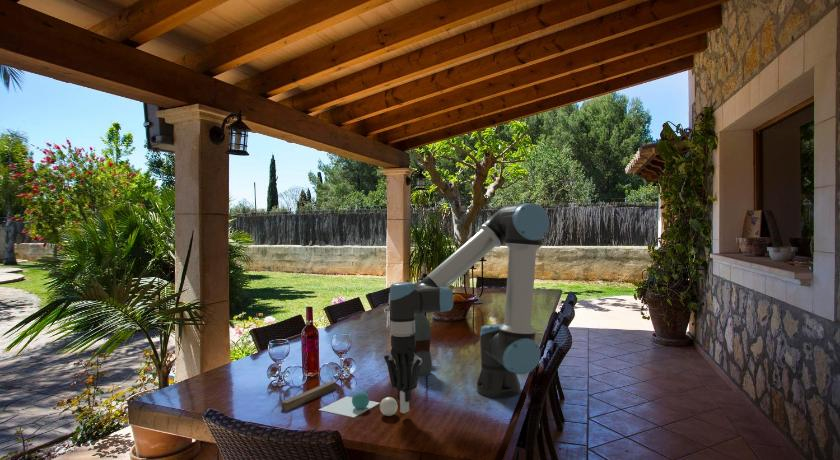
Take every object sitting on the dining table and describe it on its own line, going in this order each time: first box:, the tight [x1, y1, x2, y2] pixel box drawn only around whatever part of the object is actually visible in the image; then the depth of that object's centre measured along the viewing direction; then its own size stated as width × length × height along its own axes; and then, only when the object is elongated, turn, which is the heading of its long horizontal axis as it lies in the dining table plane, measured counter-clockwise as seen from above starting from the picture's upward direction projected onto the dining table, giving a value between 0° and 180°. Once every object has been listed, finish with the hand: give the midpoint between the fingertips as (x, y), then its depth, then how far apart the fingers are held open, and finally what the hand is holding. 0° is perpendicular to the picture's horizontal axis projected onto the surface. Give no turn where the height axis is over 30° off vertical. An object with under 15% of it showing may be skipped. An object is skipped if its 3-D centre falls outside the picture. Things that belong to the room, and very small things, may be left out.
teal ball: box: [351, 390, 370, 409], centre depth 162 cm, size 6×6×6 cm
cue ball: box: [379, 396, 399, 417], centre depth 156 cm, size 6×6×6 cm
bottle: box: [411, 313, 433, 378], centre depth 200 cm, size 9×9×30 cm
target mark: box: [318, 395, 381, 418], centre depth 164 cm, size 14×14×1 cm
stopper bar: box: [281, 381, 337, 412], centre depth 173 cm, size 2×24×2 cm, turn 150°
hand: (404, 411), depth 154 cm, fingers closed
